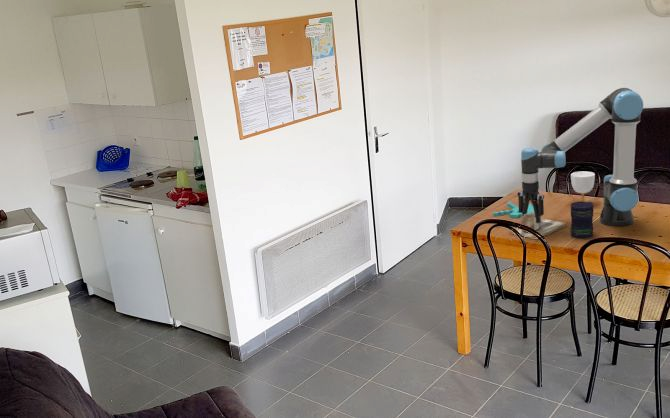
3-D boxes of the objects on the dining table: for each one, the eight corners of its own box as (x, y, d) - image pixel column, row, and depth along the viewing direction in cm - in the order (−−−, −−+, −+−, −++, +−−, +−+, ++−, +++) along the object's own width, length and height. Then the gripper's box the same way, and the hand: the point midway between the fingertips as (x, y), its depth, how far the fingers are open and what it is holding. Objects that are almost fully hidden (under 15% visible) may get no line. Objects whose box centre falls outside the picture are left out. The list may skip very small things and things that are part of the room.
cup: (571, 202, 355) (570, 171, 350) (594, 202, 351) (594, 171, 346) (570, 208, 345) (570, 177, 340) (594, 208, 340) (595, 176, 336)
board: (566, 226, 320) (566, 223, 319) (535, 240, 306) (535, 236, 306) (539, 220, 331) (539, 217, 331) (509, 233, 318) (509, 230, 317)
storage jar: (592, 239, 299) (592, 207, 295) (569, 238, 303) (569, 207, 299) (593, 232, 308) (593, 201, 304) (571, 231, 312) (571, 201, 308)
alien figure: (493, 216, 347) (530, 220, 335) (493, 212, 346) (530, 216, 334) (508, 206, 362) (544, 209, 350) (508, 202, 361) (544, 205, 349)
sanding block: (541, 227, 316) (541, 214, 314) (530, 232, 311) (529, 219, 309) (532, 225, 320) (532, 212, 318) (521, 230, 315) (520, 217, 313)
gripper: (551, 181, 304) (552, 229, 310) (519, 176, 318) (520, 222, 324) (541, 185, 300) (542, 233, 306) (509, 180, 314) (511, 226, 320)
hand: (531, 227), depth 315 cm, fingers closed on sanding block, 5 cm apart
